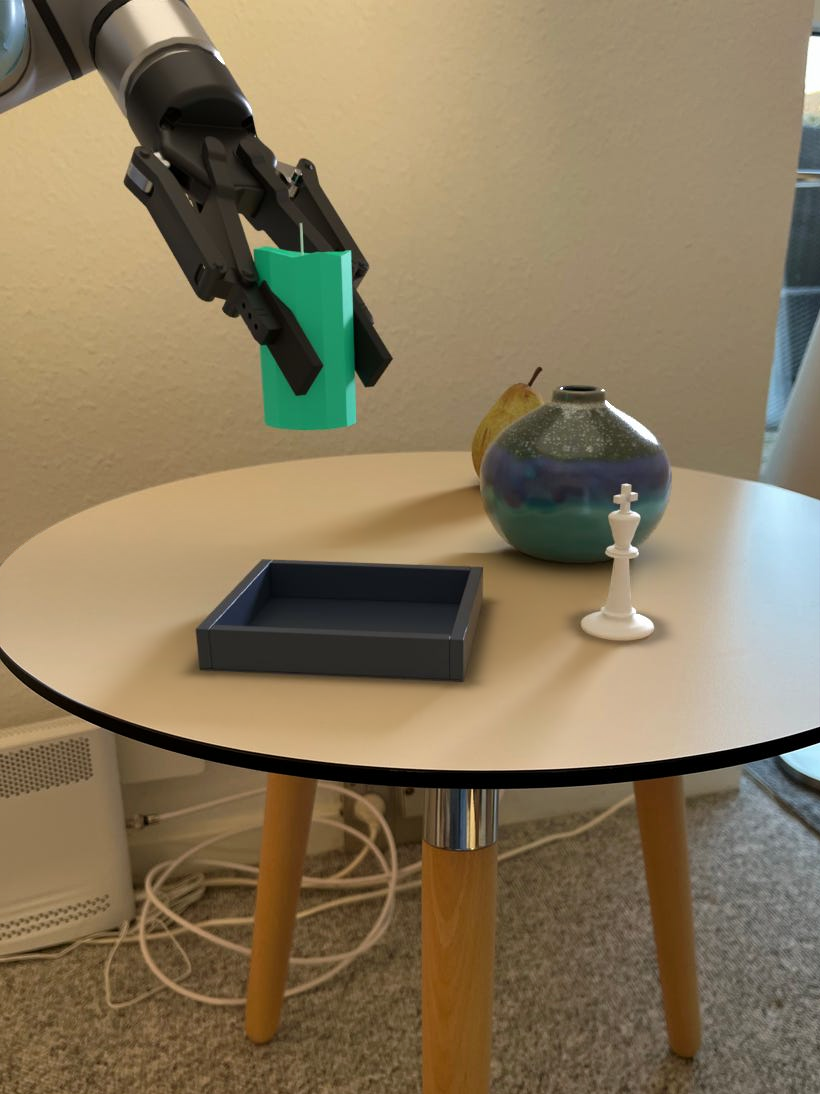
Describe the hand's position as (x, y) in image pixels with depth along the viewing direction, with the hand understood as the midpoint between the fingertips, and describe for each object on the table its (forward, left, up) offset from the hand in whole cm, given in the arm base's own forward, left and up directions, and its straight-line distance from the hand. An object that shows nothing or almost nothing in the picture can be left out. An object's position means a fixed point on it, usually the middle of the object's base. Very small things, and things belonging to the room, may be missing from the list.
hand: (345, 376), depth 63 cm
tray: (+1, -3, -16) cm, 17 cm away
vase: (+15, +18, -16) cm, 28 cm away
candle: (-3, +2, -3) cm, 5 cm away
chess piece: (+18, 0, -16) cm, 24 cm away
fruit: (+9, +41, -16) cm, 45 cm away
